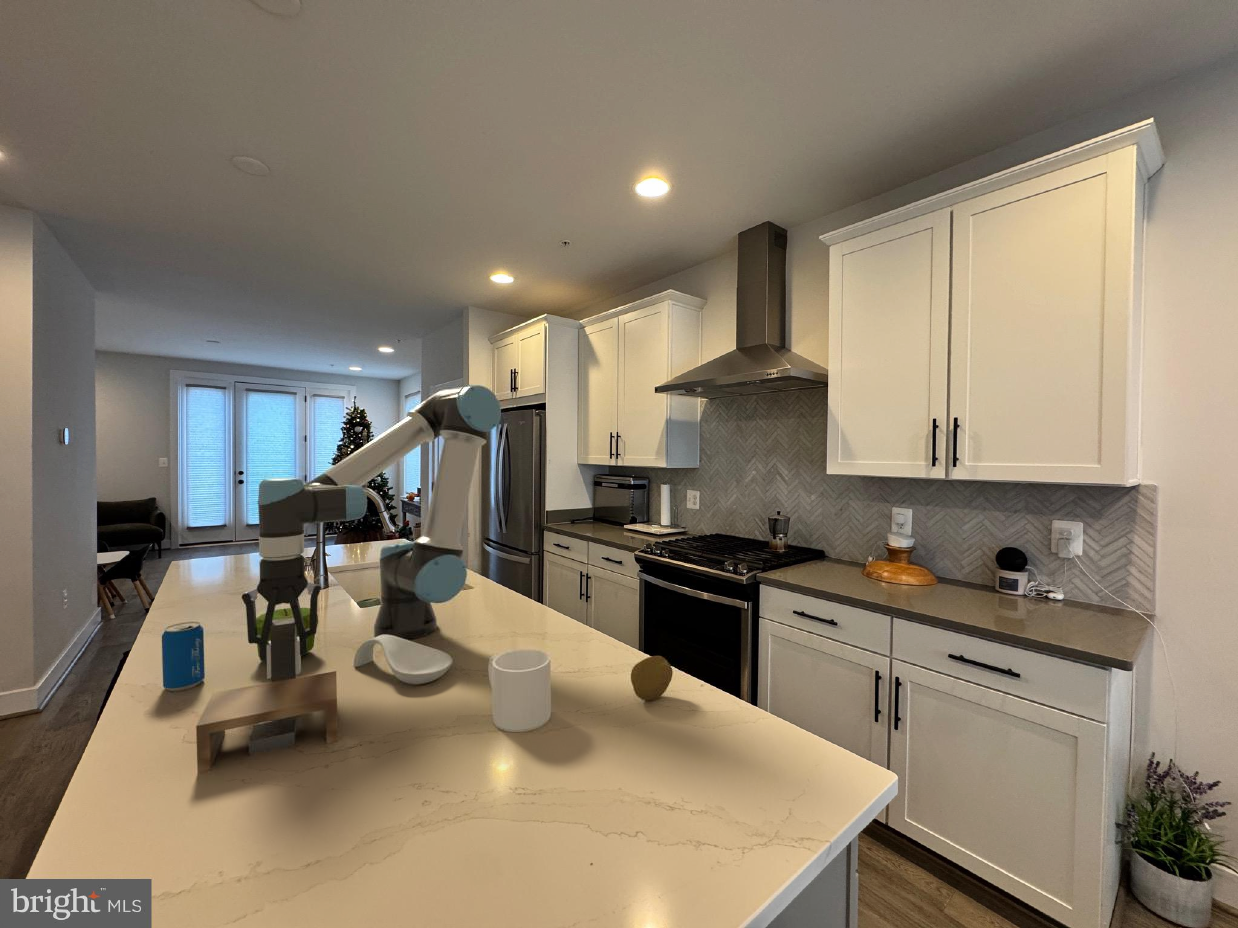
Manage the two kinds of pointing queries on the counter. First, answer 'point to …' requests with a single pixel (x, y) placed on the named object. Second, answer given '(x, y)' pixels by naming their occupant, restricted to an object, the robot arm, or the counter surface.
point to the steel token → (273, 735)
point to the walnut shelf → (264, 709)
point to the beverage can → (183, 656)
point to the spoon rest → (406, 659)
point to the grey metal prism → (283, 649)
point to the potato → (651, 677)
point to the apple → (284, 615)
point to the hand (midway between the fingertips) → (284, 672)
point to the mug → (520, 689)
